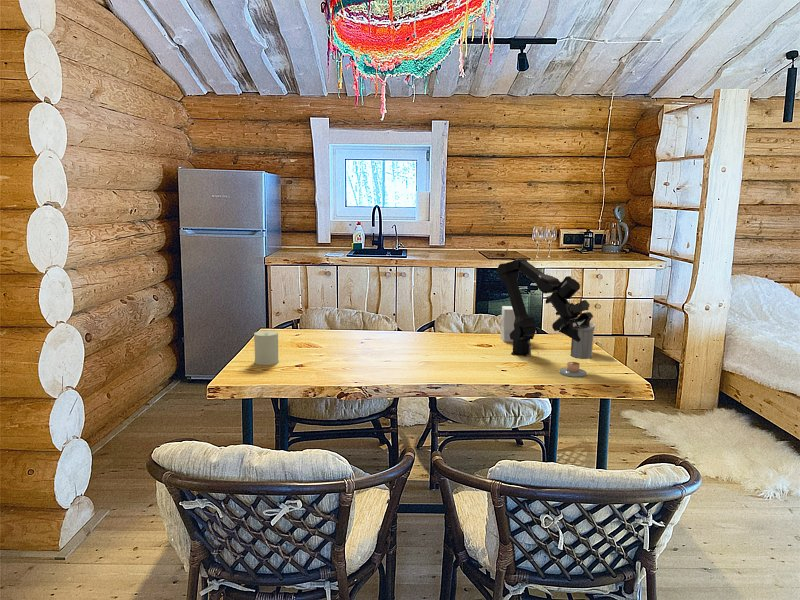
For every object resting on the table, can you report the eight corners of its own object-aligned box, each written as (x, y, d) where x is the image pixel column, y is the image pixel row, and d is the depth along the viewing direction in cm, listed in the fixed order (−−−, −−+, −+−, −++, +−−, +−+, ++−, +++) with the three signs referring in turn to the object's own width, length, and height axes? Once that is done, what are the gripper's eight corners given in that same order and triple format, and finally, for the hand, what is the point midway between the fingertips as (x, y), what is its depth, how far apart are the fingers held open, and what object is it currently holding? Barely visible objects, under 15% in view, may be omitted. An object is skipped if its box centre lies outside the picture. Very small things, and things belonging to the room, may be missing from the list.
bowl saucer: (556, 374, 234) (556, 364, 234) (563, 368, 243) (564, 358, 242) (582, 378, 230) (583, 368, 229) (589, 372, 238) (589, 362, 237)
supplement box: (520, 337, 292) (521, 305, 290) (523, 342, 284) (525, 309, 281) (500, 337, 293) (501, 305, 290) (503, 342, 284) (504, 309, 281)
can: (255, 366, 240) (254, 335, 238) (253, 359, 249) (253, 329, 247) (279, 364, 242) (279, 333, 240) (277, 358, 251) (277, 328, 249)
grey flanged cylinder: (568, 357, 236) (570, 328, 234) (573, 352, 242) (575, 324, 240) (589, 360, 233) (591, 330, 231) (593, 355, 239) (595, 326, 237)
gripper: (560, 295, 230) (585, 330, 224) (590, 290, 242) (614, 324, 236) (542, 313, 238) (564, 348, 231) (571, 308, 250) (594, 341, 243)
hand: (585, 339), depth 235 cm, fingers closed on grey flanged cylinder, 8 cm apart
